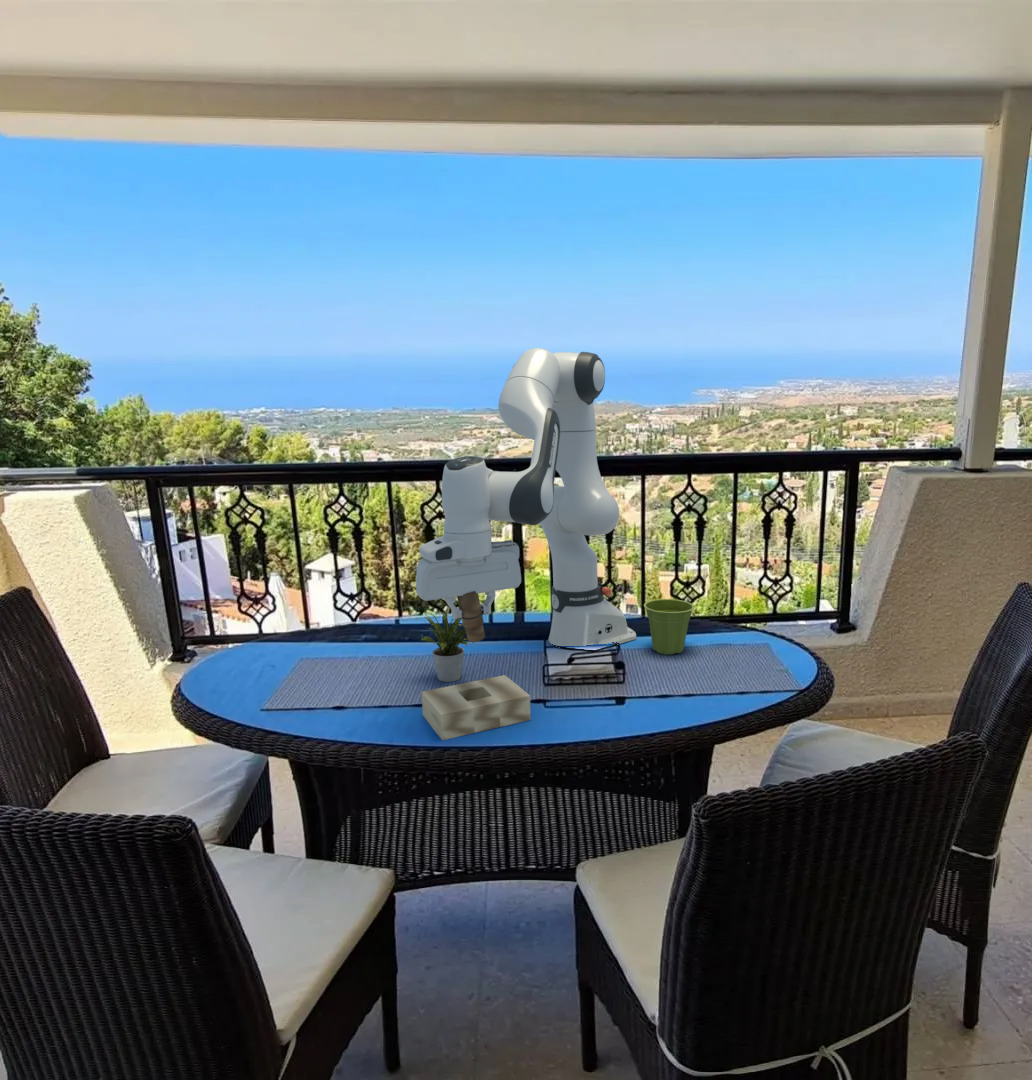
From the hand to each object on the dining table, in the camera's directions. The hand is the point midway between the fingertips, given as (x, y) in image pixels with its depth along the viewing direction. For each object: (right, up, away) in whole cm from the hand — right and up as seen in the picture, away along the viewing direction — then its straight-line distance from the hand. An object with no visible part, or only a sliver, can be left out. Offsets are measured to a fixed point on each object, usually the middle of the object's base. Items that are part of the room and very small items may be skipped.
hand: (471, 616), depth 139 cm
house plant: (-7, -17, +24) cm, 30 cm away
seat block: (+1, -20, +4) cm, 21 cm away
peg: (+1, -4, +2) cm, 5 cm away
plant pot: (+45, -12, +38) cm, 60 cm away
